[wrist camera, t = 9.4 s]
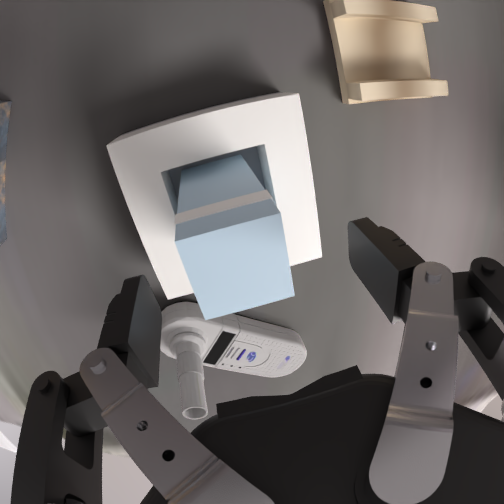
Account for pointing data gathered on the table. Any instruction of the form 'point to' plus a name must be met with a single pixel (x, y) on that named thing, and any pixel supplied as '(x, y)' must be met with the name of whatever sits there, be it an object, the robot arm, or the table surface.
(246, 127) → the socket
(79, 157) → the table surface
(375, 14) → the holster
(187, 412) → the electronic device
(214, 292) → the plug
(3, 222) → the marbled rust block
